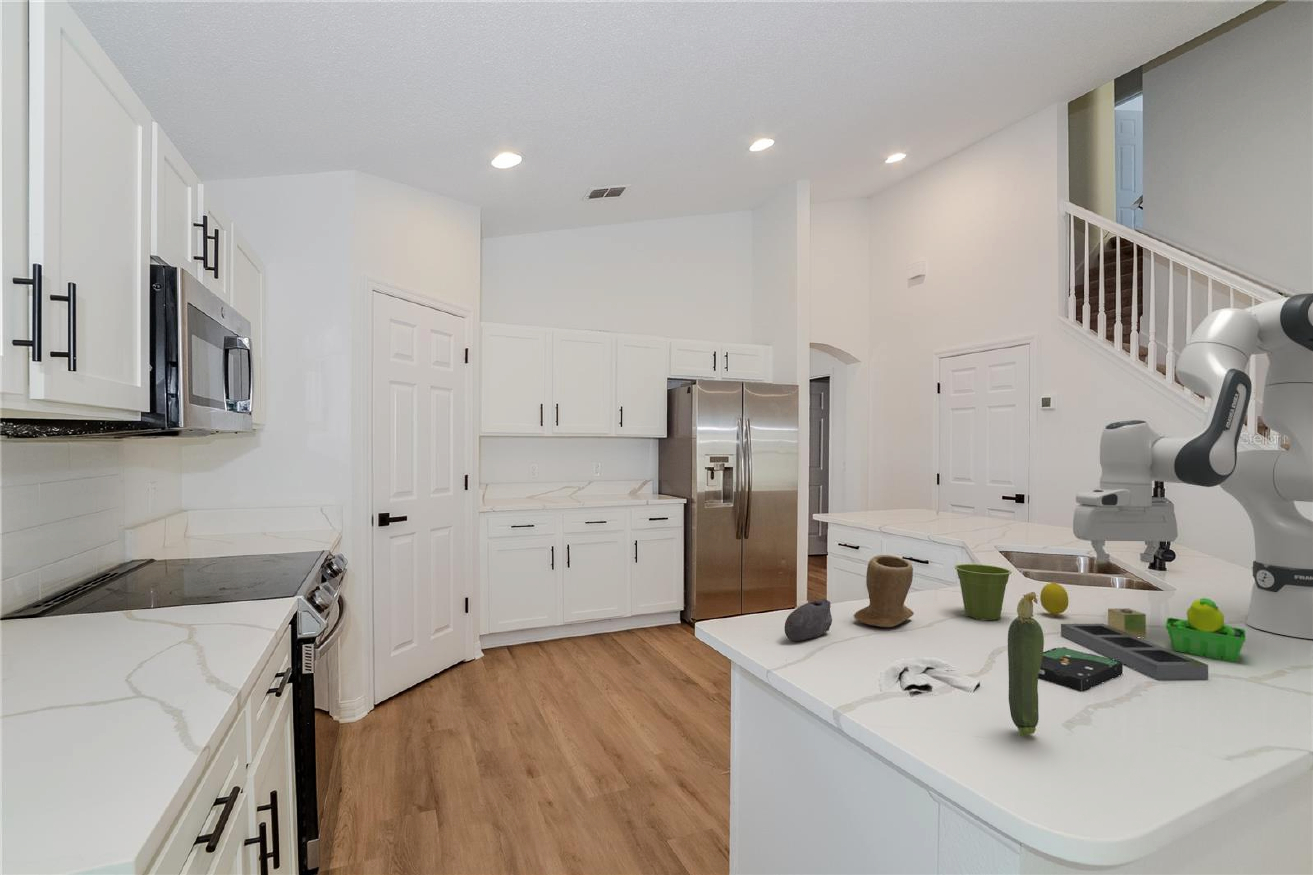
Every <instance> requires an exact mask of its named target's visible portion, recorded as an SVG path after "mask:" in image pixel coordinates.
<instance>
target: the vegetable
mask: <svg viewBox="0 0 1313 875" xmlns="http://www.w3.org/2000/svg"><path fill="white" fill-rule="evenodd" d="M1022 596H1023V597H1022V598H1020V600H1019V602H1018V603H1017V608H1016V613H1017V615H1018V616H1017V617H1015V618H1014V619H1013V620H1012V621H1011V623H1010V625H1009V627H1008V631H1007V661H1008V663H1007V664H1008V665H1007V666H1008V706H1009V711H1010V717H1011V721H1012V722H1013V724H1014V725H1015V726H1016V728H1017V730H1018V732H1019V733H1020V735H1021V736H1022V737H1023V738H1024V737H1026V736H1028V735H1032V734H1035V732H1036V730H1037V726H1038V725H1039V716H1040V715H1039V690H1038V688H1039V687H1038V686H1039V685H1038V684H1039V678H1038V675H1039V670H1040V667H1041V663H1042V656H1043V652H1044V646H1045V641H1044V640H1045V637H1044V633H1043V629H1042V626H1041V624H1040V623H1039V622H1038V621H1037V620H1036V619H1035V618H1033V617H1035V616H1034V603H1035V604H1038V598H1037V597H1038V595H1037V594H1036V592H1034V591H1031V592H1028V593H1026V594H1023V595H1022ZM1033 602H1034V603H1033Z"/></svg>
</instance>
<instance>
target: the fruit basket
mask: <svg viewBox="0 0 1313 875" xmlns="http://www.w3.org/2000/svg"><path fill="white" fill-rule="evenodd" d="M1186 616H1187V618H1186V619H1187V620H1186V619H1180V618H1174V617H1167V619H1166V622H1165V623H1164V624H1165V628H1166V630H1167V632H1168V635H1169V639H1170V643H1171V646H1172V651H1174V650H1175V651H1174V652H1178V651H1180V652H1179V653H1183V652H1185V653H1184V654H1189V653H1190V655H1195V656H1199V655H1200V656H1201V657H1206V658H1210V659H1215V660H1223V661H1228V662H1232V663H1237V662H1238V659H1239V657H1240V654H1241V650H1242V647H1243V645H1244V643H1245V641H1246V639H1247V637H1246V635H1247V634H1246V630H1245V629H1243V628H1239V627H1232V626H1231V625H1227V624H1225V614H1223V612H1222V611H1221V610H1220V609H1219V606H1217V604H1216V602H1214V600H1212V599H1211V598H1207V597H1202V598H1199V599H1196V600H1194V601H1193V602H1192V603H1191V605H1190V606H1189V607H1188V609H1187V610H1186Z"/></svg>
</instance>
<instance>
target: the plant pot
mask: <svg viewBox="0 0 1313 875" xmlns="http://www.w3.org/2000/svg"><path fill="white" fill-rule="evenodd" d="M954 569H955V570H956V572H957V573H956V574H957V578H958V580H959V585H960V591H961V595H962V596H961V597H962V602H963V608H964V614H965V615H966V616H967V617H972V618H973V619H975V620H980V621H981V620H984V621H993V620H1000V618H1001V615H1002V611H1003V610H1002V609H1003V605H1004V604H1003V603H1004V598H1005V592H1006V587H1007V584H1008V581H1009V577H1010V575H1011V574H1012V573H1013V572H1012V570H1011V569H1007V568H1004V567H1000V566H995V565H987V564H976V563H974V564H973V563H970V564H969V563H961V564H956V565H954Z"/></svg>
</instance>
